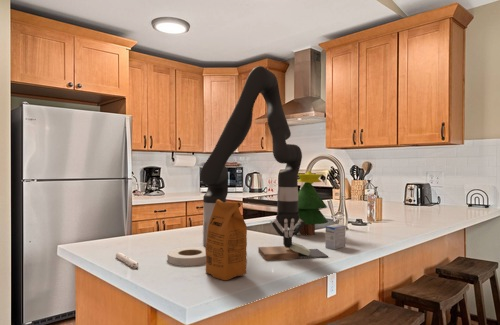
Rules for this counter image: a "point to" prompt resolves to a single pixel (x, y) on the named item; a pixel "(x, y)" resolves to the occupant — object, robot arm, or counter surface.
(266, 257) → the board
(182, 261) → the roll of tape
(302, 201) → the decorative tree
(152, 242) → the counter surface
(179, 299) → the counter surface
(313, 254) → the mat
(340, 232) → the medicine box
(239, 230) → the coffee package
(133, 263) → the marker
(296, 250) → the tile
